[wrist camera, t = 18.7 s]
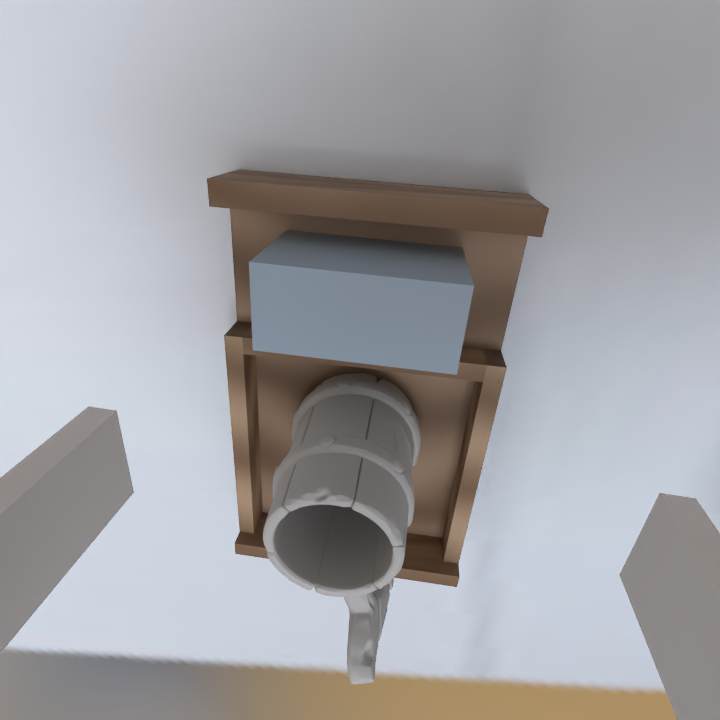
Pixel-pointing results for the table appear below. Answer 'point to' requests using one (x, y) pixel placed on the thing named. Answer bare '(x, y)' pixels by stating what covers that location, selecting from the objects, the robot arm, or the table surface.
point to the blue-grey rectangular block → (361, 300)
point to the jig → (422, 388)
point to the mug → (347, 502)
